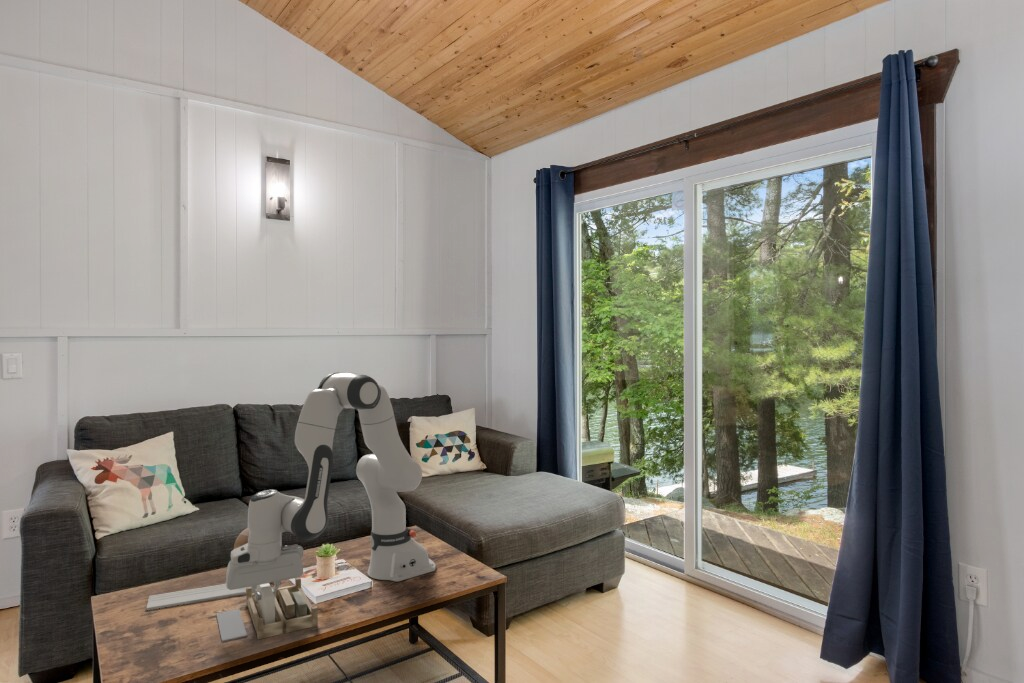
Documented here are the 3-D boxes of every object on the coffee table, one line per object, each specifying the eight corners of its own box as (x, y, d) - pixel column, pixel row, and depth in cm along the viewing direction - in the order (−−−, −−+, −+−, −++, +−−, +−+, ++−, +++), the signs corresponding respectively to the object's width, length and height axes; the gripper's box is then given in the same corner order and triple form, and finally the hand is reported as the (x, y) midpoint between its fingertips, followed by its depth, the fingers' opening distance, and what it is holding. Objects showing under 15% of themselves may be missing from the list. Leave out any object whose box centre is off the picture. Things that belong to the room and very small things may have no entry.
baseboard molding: (150, 596, 194) (146, 613, 183) (150, 587, 194) (146, 603, 183) (259, 579, 207) (261, 593, 196) (259, 570, 207) (261, 584, 196)
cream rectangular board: (266, 606, 186) (265, 575, 186) (275, 628, 172) (274, 596, 172) (257, 608, 185) (256, 577, 184) (265, 631, 171) (264, 598, 170)
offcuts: (296, 598, 191) (296, 583, 191) (307, 619, 177) (306, 603, 177) (279, 601, 189) (279, 586, 188) (289, 623, 175) (289, 607, 175)
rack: (300, 593, 195) (300, 577, 195) (317, 625, 173) (317, 607, 173) (246, 604, 187) (246, 587, 187) (257, 639, 166) (257, 620, 166)
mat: (239, 610, 183) (239, 608, 183) (246, 636, 167) (246, 635, 167) (216, 614, 180) (216, 613, 180) (221, 642, 165) (221, 640, 165)
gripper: (301, 539, 186) (301, 586, 186) (224, 552, 176) (225, 601, 176) (305, 546, 180) (305, 594, 180) (227, 559, 170) (227, 610, 170)
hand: (265, 598), depth 178 cm, fingers closed on cream rectangular board, 2 cm apart
